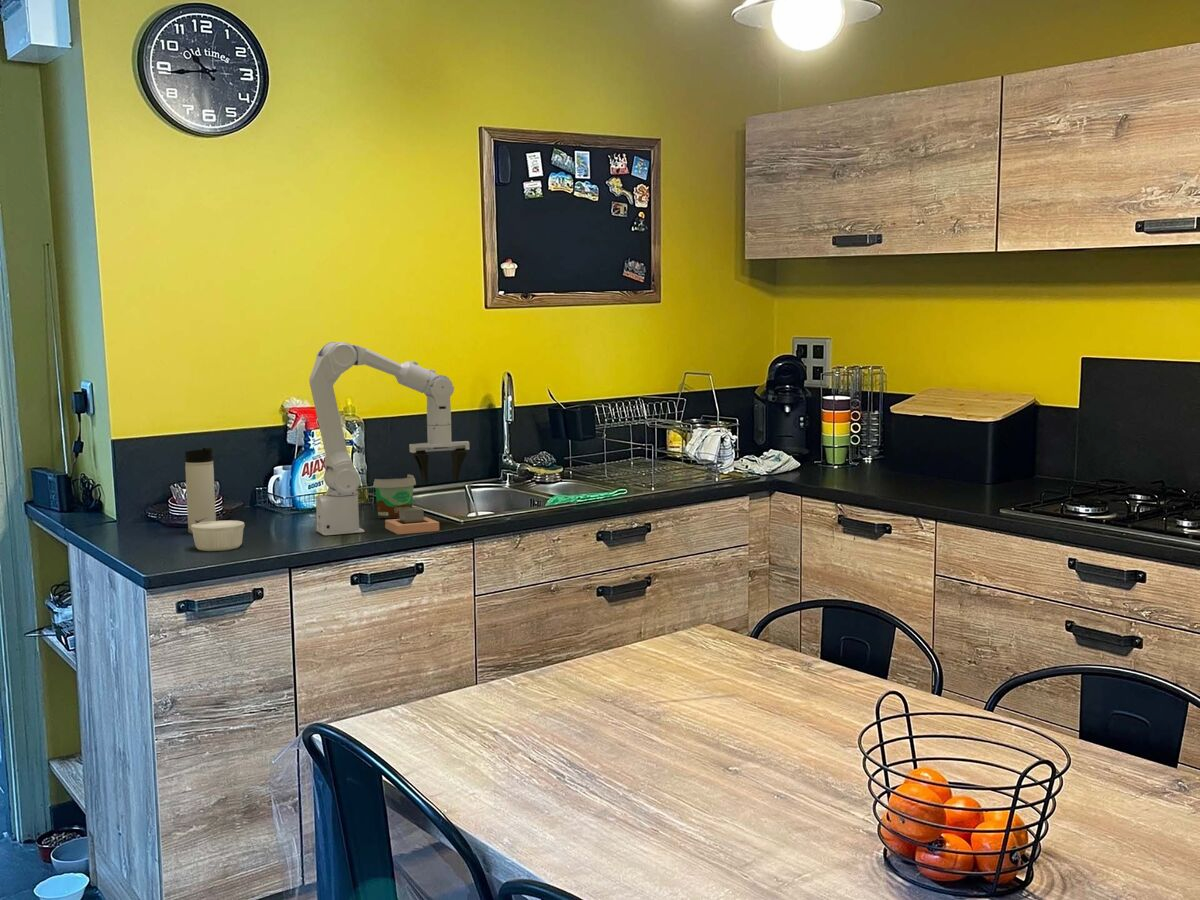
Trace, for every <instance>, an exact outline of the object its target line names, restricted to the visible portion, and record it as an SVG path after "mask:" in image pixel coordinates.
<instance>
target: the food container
mask: <svg viewBox="0 0 1200 900" xmlns="http://www.w3.org/2000/svg"><path fill="white" fill-rule="evenodd" d="M372 484H373V485H372V486H373V488H374V489H375V496H376V497H375V499H376V507H377V516H380V517H399V508H410V507H413V497H414V486H416V485H417V482H416V478H415V477H414V475H412V474H407V477H404V478H389V479H387V478H386V479H385V478H384V479H380V478H374V481H373V483H372Z"/></svg>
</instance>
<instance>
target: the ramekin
mask: <svg viewBox="0 0 1200 900" xmlns="http://www.w3.org/2000/svg"><path fill="white" fill-rule="evenodd" d="M244 528H245V522H244V521H241V520H216V521H210V522H202V523H196V524H193V525H191V530H192V532H193V534H192V536H193V540H194V545H195V546H194V547H195V548H196V549H197V550H198V551H205V552H216V551H217V552H218V551H229V550H230V551H231V550H235V549H238V548H240V546H241V545H242V544H243V538H244V537H243V535H244Z"/></svg>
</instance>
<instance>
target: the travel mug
mask: <svg viewBox="0 0 1200 900" xmlns="http://www.w3.org/2000/svg"><path fill="white" fill-rule="evenodd" d="M213 454H214V453H213V448H212V447H202V449H195V450H193V449H192V450H187V451H184V457H185V460H184V461H185V467H184V469H185V484H186V485H185V486H186V487H185V488H186V489H185V490H186V511H187V529H188V530H187V531H188V533H189V534H192V535H193V532H192V530H191V525H193V524H196V523H202V522H210V521H217V520H216V519H217V516H216V494H215V493H216V492H215V470H214V458H213V457H214V455H213Z"/></svg>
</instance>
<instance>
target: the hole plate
mask: <svg viewBox="0 0 1200 900" xmlns="http://www.w3.org/2000/svg"><path fill="white" fill-rule="evenodd" d="M384 524H385V525H384V526H385V527H384V528H385V530H387V531H389V532H392V533H394V534H396V535H407V534H418V533H419V534H420V533H431V532H440V522H439V521H437V520H435V519H432V518H430V517H428V516H424V522H423V523H411V524H401V523H400V519H399V518H397V519H385V520H384Z"/></svg>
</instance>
